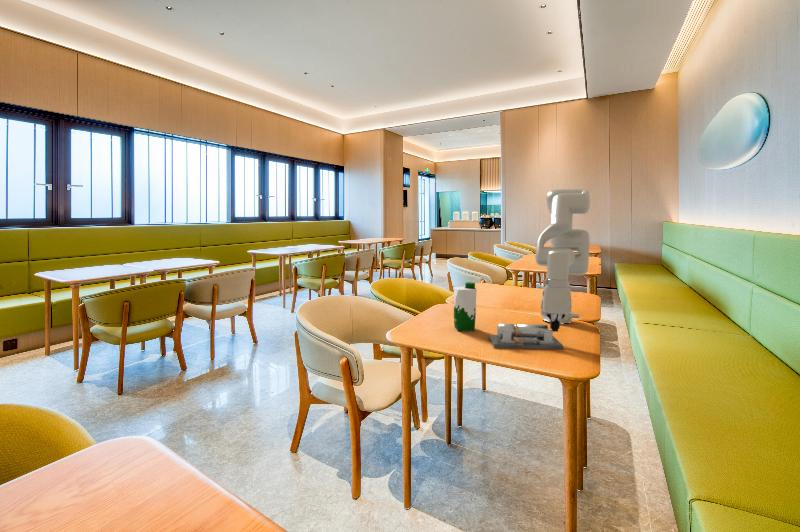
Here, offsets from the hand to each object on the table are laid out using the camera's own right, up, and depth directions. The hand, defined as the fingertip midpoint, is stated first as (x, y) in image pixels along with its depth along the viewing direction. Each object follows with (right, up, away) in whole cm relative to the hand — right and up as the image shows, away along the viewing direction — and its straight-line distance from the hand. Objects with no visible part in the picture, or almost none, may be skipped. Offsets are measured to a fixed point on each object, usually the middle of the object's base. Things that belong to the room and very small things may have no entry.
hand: (554, 330), depth 155 cm
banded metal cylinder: (-12, 0, 0) cm, 12 cm away
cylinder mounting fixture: (-11, -5, +1) cm, 12 cm away
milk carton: (-31, -3, +21) cm, 38 cm away
